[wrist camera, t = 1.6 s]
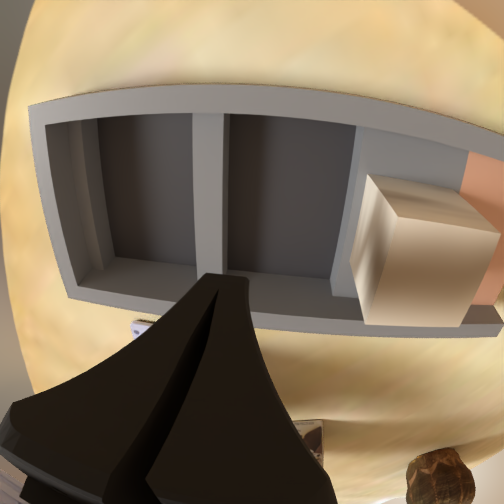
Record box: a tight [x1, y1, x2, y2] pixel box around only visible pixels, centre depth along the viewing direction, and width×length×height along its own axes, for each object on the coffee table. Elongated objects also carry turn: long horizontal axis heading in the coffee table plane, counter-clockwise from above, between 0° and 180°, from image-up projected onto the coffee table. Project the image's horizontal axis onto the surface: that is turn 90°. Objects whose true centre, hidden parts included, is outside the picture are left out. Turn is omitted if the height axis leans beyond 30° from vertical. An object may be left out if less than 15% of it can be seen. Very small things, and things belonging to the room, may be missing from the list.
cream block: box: [349, 174, 501, 327], centre depth 13 cm, size 5×5×5 cm
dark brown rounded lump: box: [406, 448, 476, 504], centre depth 30 cm, size 11×11×12 cm
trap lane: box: [28, 83, 504, 338], centre depth 16 cm, size 12×29×4 cm, turn 88°
